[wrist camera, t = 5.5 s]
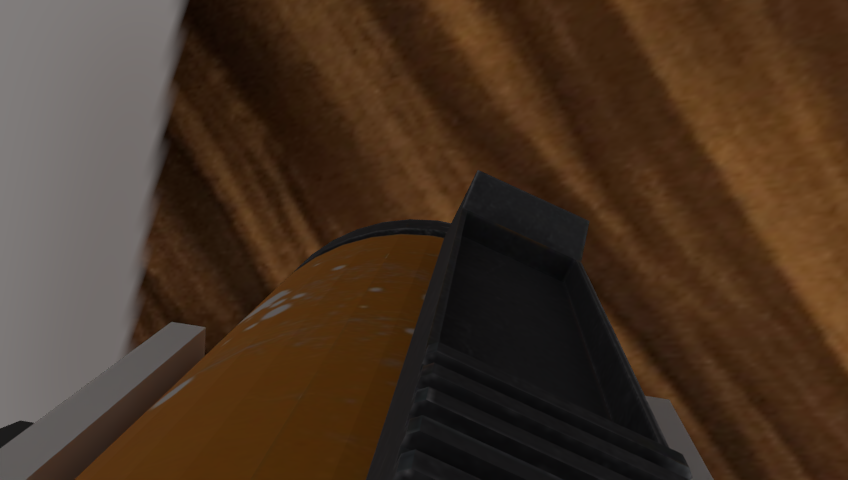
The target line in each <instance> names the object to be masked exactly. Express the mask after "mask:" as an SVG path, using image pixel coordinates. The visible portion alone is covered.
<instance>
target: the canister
mask: <svg viewBox="0 0 848 480" xmlns="http://www.w3.org/2000/svg"><path fill="white" fill-rule="evenodd" d="M588 225H589V221H588V220H585V219H583V218H581V217H579V216H577V215H575V214H572V213H570V212H568V211H566V210H564V209H562V208H559V207H557V206H555V205H553V204H551V203H549V202H546V201H544V200H542V199H540V198H538V197H535V196H533V195H531V194H529V193H527V192H525V191H522V190H520V189H518V188H516V187H514V186H512V185H509V184H507V183H505V182H503V181H501V180H499V179H496V178H494V177H492V176H490V175H488V174H485V173H483V172H481V171H479V170H478V171H477V173H476V175H475V177H474V179H473V181H472V183H471V185H470V187H469V189H468V191H467V193H466V195H465V197H464V199H463V201H462V203H461V205H460V207H459V209H458V211H457V213H456V215H455V217H454V219H453V221H452V223H447V222H442V221H433V220H412V219H409V220H400V221H391V222H383V223H379V224H375V225H372V226H368V227H364V228H361V229H357V230H355V231H353V232H350V233H348V234H346V235H344V236H342V237H340V238H337V239H335V240H333V241H332V242H330V243H329V244H327V245H326V246H324V247H323V248H321V249H320V250H318V251H317V252H315V253H314V254H312V255H311V256H310V257H309V258H308V259H307V260H306V261H305V262H304V263H303V264H302V265H300V266H299V267H298V268H297V269H296V270H295V271H294V272H293V273H292V274H291V275H290V276H289V277H288V278H287V279H286V280H285V281H284V282H283V283H281V284H280V285H279V286H278V287H277V288H276V289H275V290H274V291H273V292H272V293H271V294H270V295H269V296H268V297H267V298H266V299H265V300H263V301H262V302H261V303H260V304H259V305H258V306H257V307H256V308H255V309H254V310H253V311H252V312H251V313H250V314H249V315H248V316H247V317H246V318H244V319H243V320H242V321H241V322H240V323H239V324H238V325H237V326H236V327H235V328H234V329H233V330H232V331H231V332H230V333H229V334H228V335H226V336H225V337H224V338H223V339H222V340H221V341H220V342H219V343H218V344H217V345H216V346H215V347H214V348H213V349H212V350H211V351H210V352H208V353H207V354H206V355H205V356H204V357H203V358H202V359H201V360H200V361H199V362H198V363H197V364H196V365H195V366H194V367H193V368H192V369H191V370H189V371H188V372H187V373H186V374H185V375H184V376H183V377H182V378H181V379H180V380H179V381H178V382H177V383H176V384H175V385H174V386H173V387H171V388H170V389H169V390H168V391H167V392H166V393H165V394H164V395H163V396H162V397H161V398H160V399H159V400H158V401H157V402H156V403H155V404H154V405H152V406H151V407H150V408H149V409H148V410H147V411H146V412H145V413H144V414H143V415H142V416H141V417H140V418H139V419H138V420H137V421H136V422H134V423H133V424H132V425H131V426H130V427H129V428H128V429H127V430H126V431H125V432H124V433H123V434H122V435H121V436H120V437H119V438H118V439H117V440H115V441H114V442H113V443H112V444H111V445H110V446H109V447H108V448H107V449H106V450H105V451H104V452H103V453H102V454H101V455H100V456H99V457H97V458H96V459H95V460H94V461H93V462H92V463H91V464H90V465H89V466H88V467H87V468H86V469H85V470H84V471H83V472H82V473H81V474H80V475H78V476H77V477H76V478H75V479H74V480H691V479H692V478H693V477H692V474H691V471H690V468H689V466H688V464H687V462H686V460H685V458H684V456H683V454H681V453H679V452H677V451H675V450H673V449H671V448H669V446H668V444H667V442H666V440H665V437H664V435H663V433H662V431H661V429H660V427H659V425H658V423H657V421H656V419H655V416H654V414H653V412H652V410H651V408H650V406H649V404H648V402H647V400H646V398H645V395H644V393H643V391H642V389H641V387H640V385H639V383H638V381H637V379H636V377H635V374H634V372H633V370H632V368H631V366H630V364H629V362H628V360H627V358H626V356H625V353H624V351H623V349H622V347H621V345H620V343H619V341H618V339H617V337H616V335H615V333H614V330H613V328H612V326H611V324H610V322H609V320H608V318H607V316H606V314H605V312H604V309H603V307H602V305H601V303H600V301H599V299H598V297H597V295H596V293H595V291H594V288H593V286H592V284H591V282H590V280H589V278H588V276H587V274H586V272H585V270H584V267H583V265H582V263H581V260H582V255H583V250H584V245H585V240H586V235H587V230H588Z"/></svg>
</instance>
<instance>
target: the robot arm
mask: <svg viewBox="0 0 848 480" xmlns="http://www.w3.org/2000/svg"><path fill="white" fill-rule="evenodd" d="M205 334H206V327H201V326H194V325H188V324H181V323H175V322H171V323H169V324H168V325H167V326H165V327H164V328H163V329H161V330H160V331H159V332H157V333H156V334H154V335H153V336H152V337H150V338H149V339H148V340H146V341H145V342H144V343H142V344H141V345H140V346H138V347H137V348H136V349H134V350H133V351H131V352H130V353H129V354H127V355H126V356H125V357H123V358H122V359H121V360H119V361H118V362H117V363H115V364H114V365H113V366H111V367H110V368H108V369H107V370H106V371H104V372H103V373H102V374H100V375H99V376H98V377H96V378H95V379H94V380H92V381H91V382H90V383H88V384H87V385H85V386H84V387H83V388H81V389H80V390H79V391H77V392H76V393H75V394H74V395H72V396H71V397H69V398H68V399H67V400H65V401H64V402H62V403H61V404H60V405H58V406H57V407H56V408H54V409H53V410H52V411H50V412H49V413H48V414H46V415H45V416H44V417H42V418H41V419H40V420H38V421H37V422H35V423H32V422H25V421H18V422H16V423H13V424H11V425H8V426H6V427H3V428H1V429H0V480H74V479H75V478H76V477H77V476H78V475H80V474H81V473H82V472H83V471H84V470H85V469H86V468H87V467H88V466H89V465H90V464H91V463H92V462H93V461H94V460H95V459H96V458H97V457H99V456H100V455H101V454H102V453H103V452H104V451H105V450H106V449H107V448H108V447H109V446H110V445H111V444H112V443H113V442H114V441H115V440H117V439H118V438H119V437H120V436H121V435H122V434H123V433H124V432H125V431H126V430H127V429H128V428H129V427H130V426H131V425H132V424H133V423H134V422H136V421H137V420H138V419H139V418H140V417H141V416H142V415H143V414H144V413H145V412H146V411H147V410H148V409H149V408H150V407H151V406H152V405H154V404H155V403H156V402H157V401H158V400H159V399H160V398H161V397H162V396H163V395H164V394H165V393H166V392H167V391H168V390H169V389H170V388H171V387H173V386H174V385H175V384H176V383H177V382H178V381H179V380H180V379H181V378H182V377H183V376H184V375H185V374H186V373H187V372H188V371H189V370H191V369H192V368H193V367H194V366H195V365H196V364H197V363H198V362H199V361H200V360H201V359H202V358H203V357H204V355H205ZM645 398H646V400H647V402H648V404H649V406H650V408H651V410H652V412H653V414H654V416H655V419H656V421H657V423H658V425H659V427H660V429H661V431H662V433H663V435H664V437H665V440H666V442H667V444H668V446H669V448H671V449H673V450H675V451H677V452H679V453H681V454H683V456H684V458H685V460H686V462H687V464H688V466H689V468H690V471H691V474H692V477H693V478H692V479H691V480H713V478H712V476H711V474H710V473H709V471H708V469H707V467H706V465H705V464H704V462H703V460H702V458H701V456H700V455H699V453H698V451H697V449H696V447H695V446H694V444H693V442H692V440H691V438H690V436H689V435H688V433H687V431H686V429H685V427H684V426H683V424H682V422H681V420H680V418H679V417H678V415H677V413H676V411H675V409H674V407H673V406H672V404H671V402H670V400H668V399H661V398H655V397H649V396H645Z"/></svg>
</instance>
